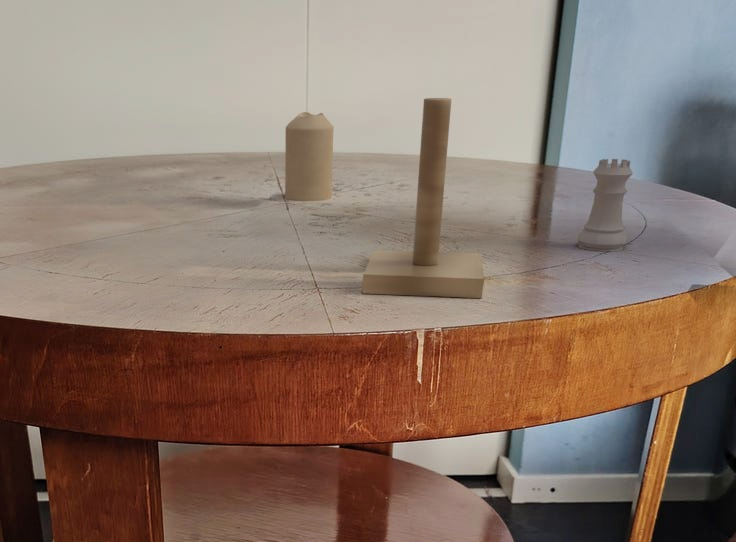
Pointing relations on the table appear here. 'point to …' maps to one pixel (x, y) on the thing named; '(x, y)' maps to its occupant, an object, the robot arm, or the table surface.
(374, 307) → the table surface
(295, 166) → the candle
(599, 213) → the rook chess piece
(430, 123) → the post
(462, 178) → the table surface
